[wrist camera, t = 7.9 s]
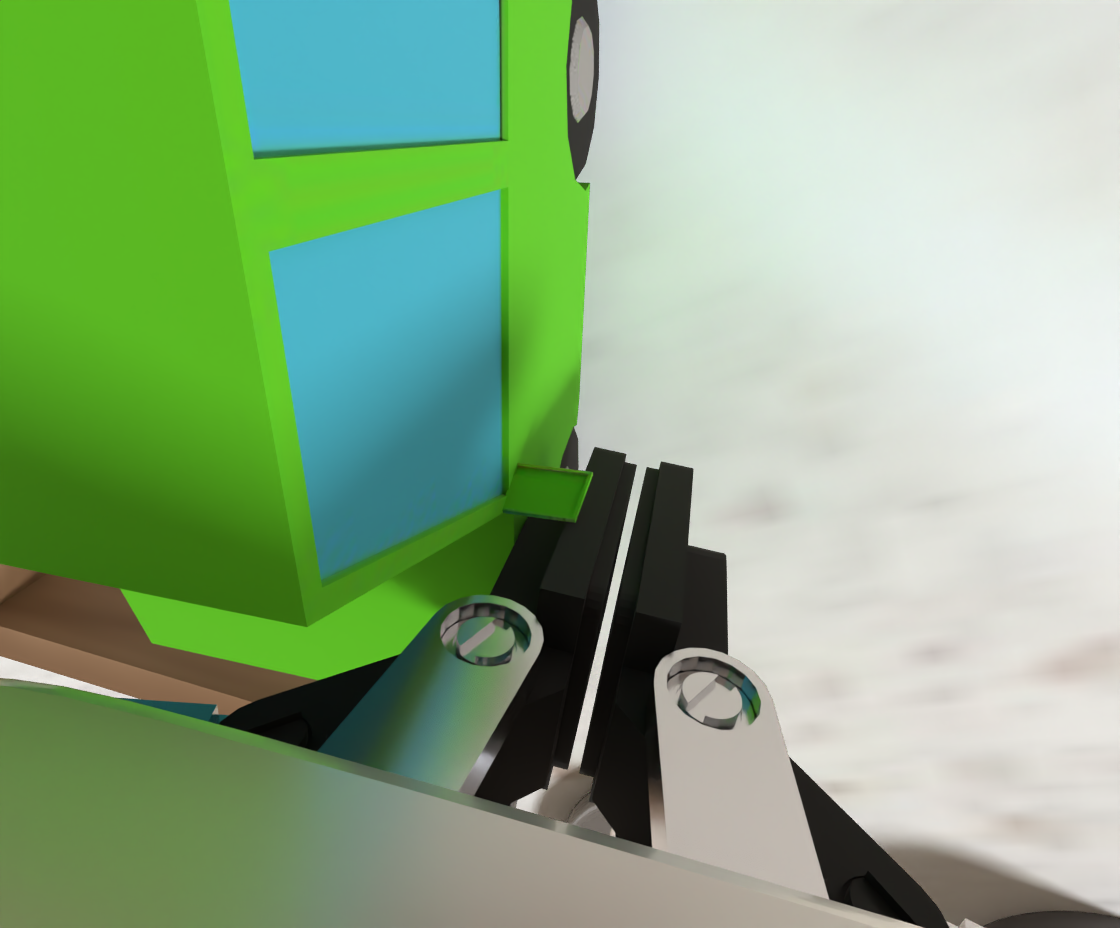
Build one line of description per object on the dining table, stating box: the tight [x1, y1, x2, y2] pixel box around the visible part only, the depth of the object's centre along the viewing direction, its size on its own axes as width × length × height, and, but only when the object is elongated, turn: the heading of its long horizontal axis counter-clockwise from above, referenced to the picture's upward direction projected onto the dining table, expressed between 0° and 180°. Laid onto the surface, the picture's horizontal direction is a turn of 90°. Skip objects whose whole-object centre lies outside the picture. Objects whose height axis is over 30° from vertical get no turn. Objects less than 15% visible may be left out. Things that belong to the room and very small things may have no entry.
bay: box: [0, 564, 318, 715], centre depth 14 cm, size 19×15×3 cm
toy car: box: [0, 0, 599, 680], centre depth 10 cm, size 10×13×10 cm
